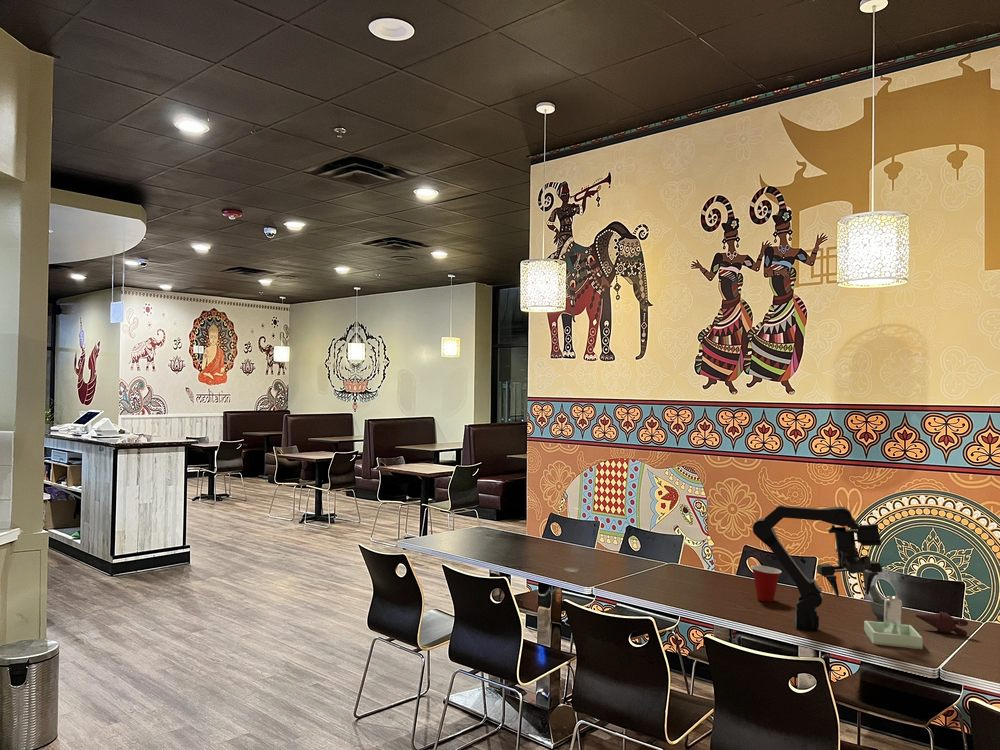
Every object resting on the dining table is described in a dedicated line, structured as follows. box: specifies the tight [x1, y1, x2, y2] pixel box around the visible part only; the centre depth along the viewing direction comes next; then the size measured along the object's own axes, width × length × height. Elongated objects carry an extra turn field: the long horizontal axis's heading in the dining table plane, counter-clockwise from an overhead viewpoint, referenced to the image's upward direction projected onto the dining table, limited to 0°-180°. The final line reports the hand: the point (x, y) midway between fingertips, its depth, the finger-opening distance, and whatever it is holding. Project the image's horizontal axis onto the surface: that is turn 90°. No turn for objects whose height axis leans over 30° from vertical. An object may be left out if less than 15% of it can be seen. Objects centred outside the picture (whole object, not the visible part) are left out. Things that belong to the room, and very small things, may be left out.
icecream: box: [915, 611, 969, 637], centre depth 240 cm, size 7×7×15 cm
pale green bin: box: [863, 620, 924, 650], centre depth 230 cm, size 14×14×4 cm
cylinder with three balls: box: [883, 595, 903, 635], centre depth 230 cm, size 5×5×13 cm
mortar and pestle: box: [869, 584, 903, 623], centre depth 250 cm, size 11×9×12 cm
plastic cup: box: [751, 564, 782, 603], centre depth 275 cm, size 11×11×12 cm
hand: (852, 595), depth 234 cm, fingers open, 9 cm apart
